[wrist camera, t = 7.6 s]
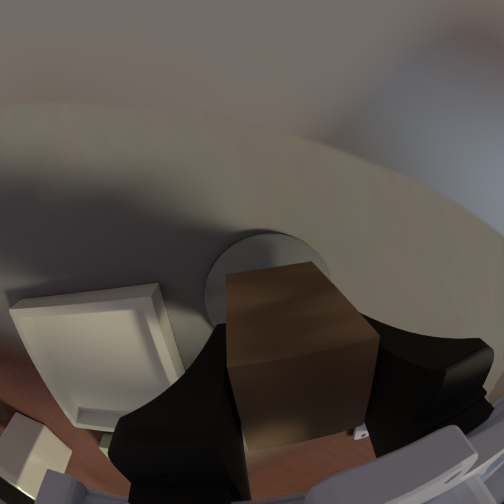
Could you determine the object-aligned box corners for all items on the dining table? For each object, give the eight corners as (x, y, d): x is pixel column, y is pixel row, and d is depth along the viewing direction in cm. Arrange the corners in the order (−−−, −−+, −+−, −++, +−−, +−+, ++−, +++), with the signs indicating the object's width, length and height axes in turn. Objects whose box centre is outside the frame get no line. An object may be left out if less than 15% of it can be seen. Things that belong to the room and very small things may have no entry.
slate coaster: (325, 224, 14) (329, 226, 14) (328, 333, 17) (331, 339, 16) (194, 242, 14) (192, 245, 14) (217, 352, 16) (217, 358, 16)
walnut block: (311, 261, 13) (380, 335, 6) (314, 333, 14) (363, 424, 8) (225, 274, 12) (227, 367, 6) (238, 346, 14) (248, 450, 7)
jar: (67, 464, 20) (45, 531, 9) (15, 430, 18) (-16, 491, 7) (77, 444, 19) (49, 529, 7) (15, 401, 17) (-28, 476, 5)
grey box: (158, 282, 15) (150, 296, 13) (202, 416, 18) (201, 434, 16) (22, 298, 14) (8, 309, 12) (81, 412, 17) (74, 426, 15)
